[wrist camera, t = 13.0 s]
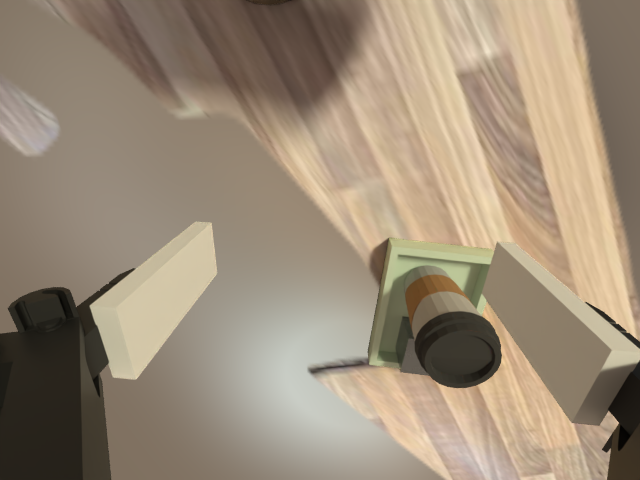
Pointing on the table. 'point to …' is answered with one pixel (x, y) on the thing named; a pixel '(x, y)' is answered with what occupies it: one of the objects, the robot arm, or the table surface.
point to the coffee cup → (449, 330)
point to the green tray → (400, 260)
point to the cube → (407, 350)
